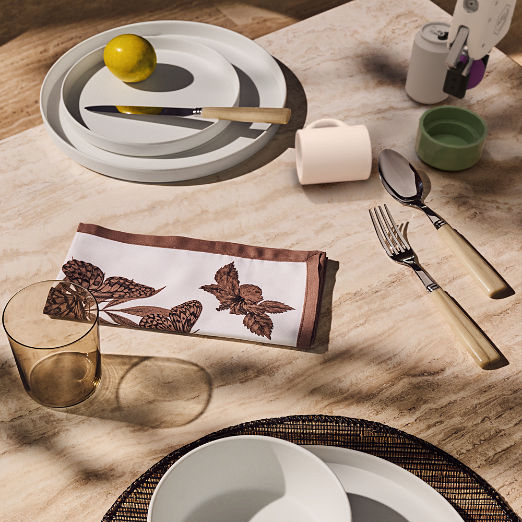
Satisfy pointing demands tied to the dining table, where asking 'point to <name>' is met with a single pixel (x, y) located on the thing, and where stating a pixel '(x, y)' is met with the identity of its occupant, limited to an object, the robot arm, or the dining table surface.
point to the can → (428, 63)
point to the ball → (474, 72)
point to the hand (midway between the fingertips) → (462, 84)
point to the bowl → (450, 137)
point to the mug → (332, 152)
